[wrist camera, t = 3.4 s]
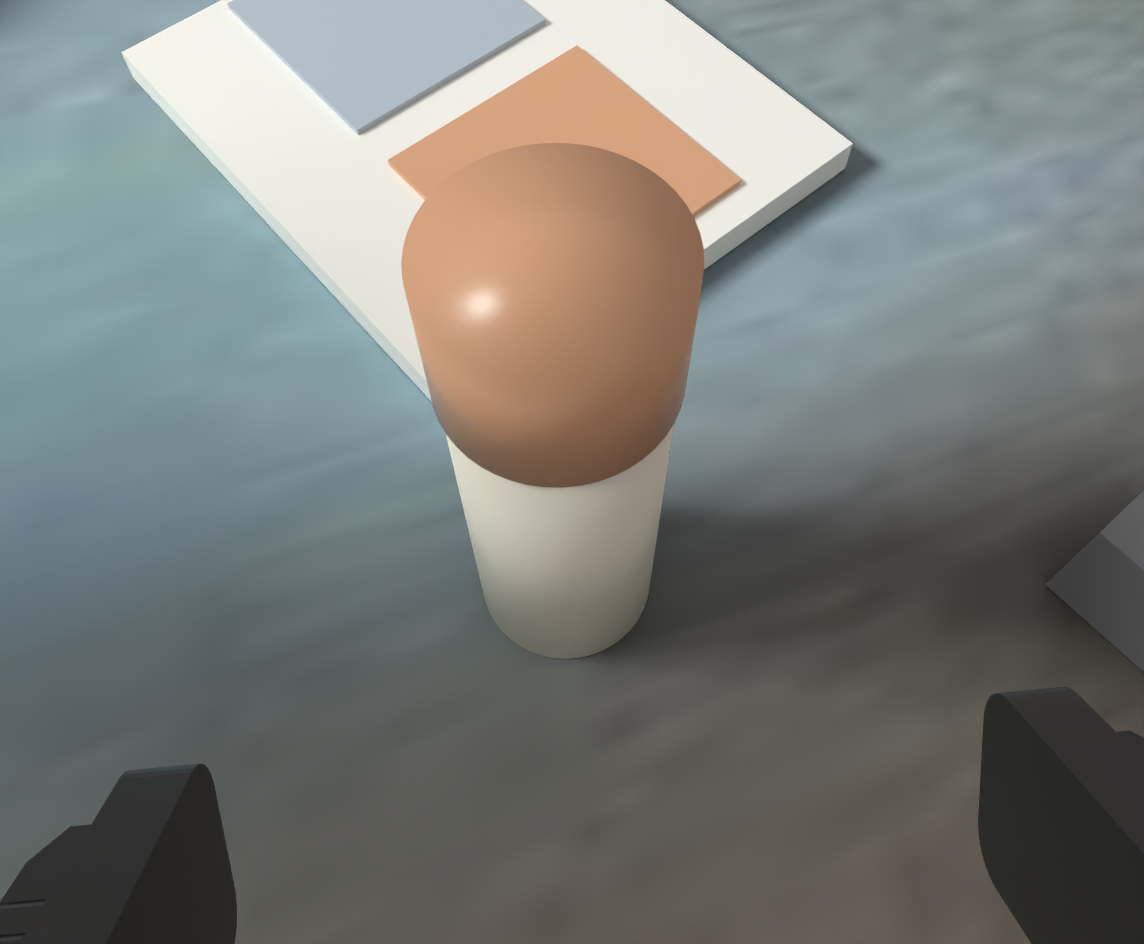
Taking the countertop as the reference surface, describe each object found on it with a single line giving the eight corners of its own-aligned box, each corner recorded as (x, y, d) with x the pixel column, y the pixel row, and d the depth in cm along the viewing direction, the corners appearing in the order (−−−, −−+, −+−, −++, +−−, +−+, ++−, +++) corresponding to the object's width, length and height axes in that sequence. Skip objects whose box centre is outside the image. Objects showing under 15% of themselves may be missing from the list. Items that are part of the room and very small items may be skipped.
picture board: (467, 440, 27) (462, 416, 26) (133, 78, 33) (118, 47, 32) (845, 168, 31) (854, 138, 30) (486, -110, 37) (484, -143, 36)
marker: (555, 700, 24) (531, 441, 13) (442, 568, 26) (342, 243, 15) (690, 587, 25) (768, 268, 15) (575, 467, 27) (570, 100, 16)
